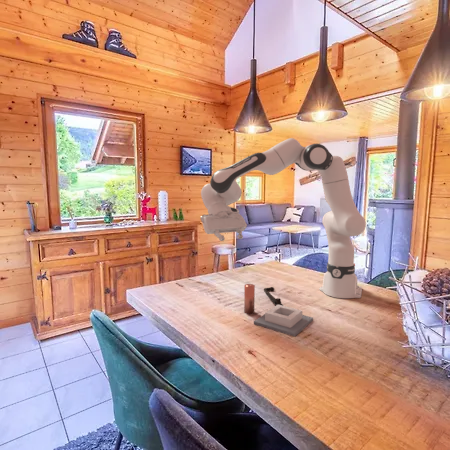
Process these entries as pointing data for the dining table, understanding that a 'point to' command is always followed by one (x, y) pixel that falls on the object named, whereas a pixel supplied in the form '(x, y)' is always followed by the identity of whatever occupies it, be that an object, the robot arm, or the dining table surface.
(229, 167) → the robot arm
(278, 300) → the black hooked rod
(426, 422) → the dining table surface
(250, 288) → the pin
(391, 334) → the dining table surface
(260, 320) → the socket board
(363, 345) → the dining table surface
